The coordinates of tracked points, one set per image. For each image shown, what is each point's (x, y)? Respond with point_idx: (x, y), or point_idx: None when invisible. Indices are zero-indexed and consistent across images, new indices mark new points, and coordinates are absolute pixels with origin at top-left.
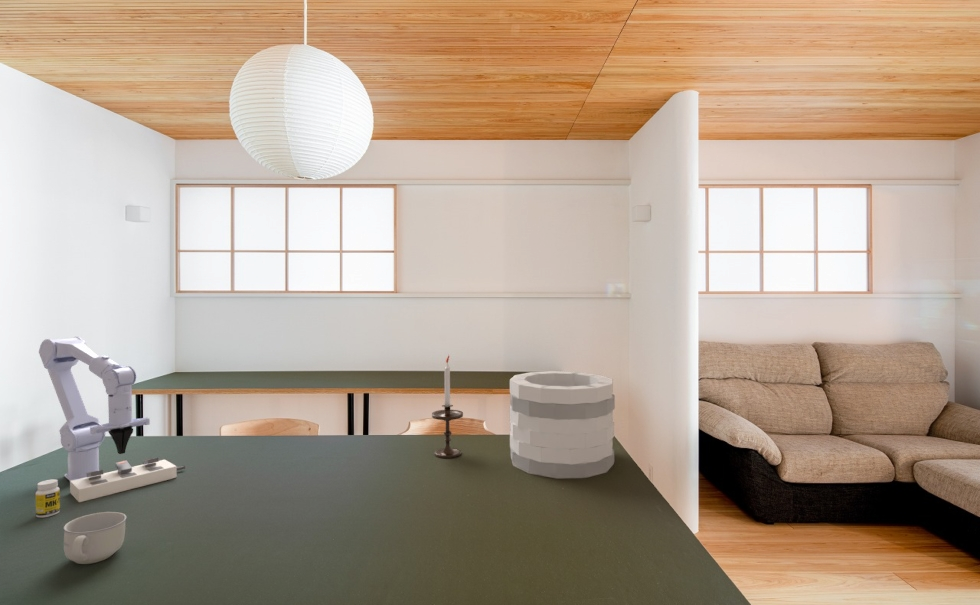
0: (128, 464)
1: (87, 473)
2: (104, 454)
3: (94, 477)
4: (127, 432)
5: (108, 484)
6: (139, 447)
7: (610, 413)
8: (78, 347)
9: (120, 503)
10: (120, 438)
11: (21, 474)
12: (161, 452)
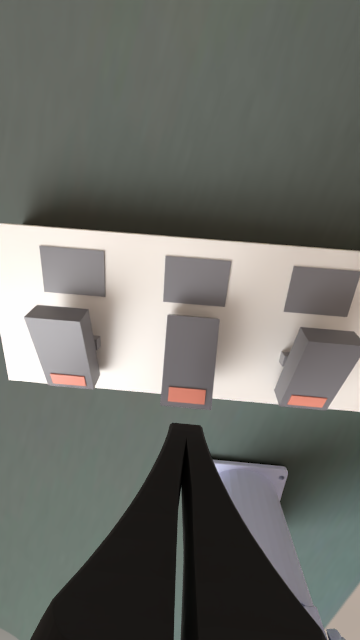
0: (168, 358)
1: (334, 394)
2: None
3: None
4: (126, 626)
5: (296, 246)
6: (49, 594)
7: None
8: None
9: (308, 58)
10: (213, 547)
11: None
12: (10, 524)
